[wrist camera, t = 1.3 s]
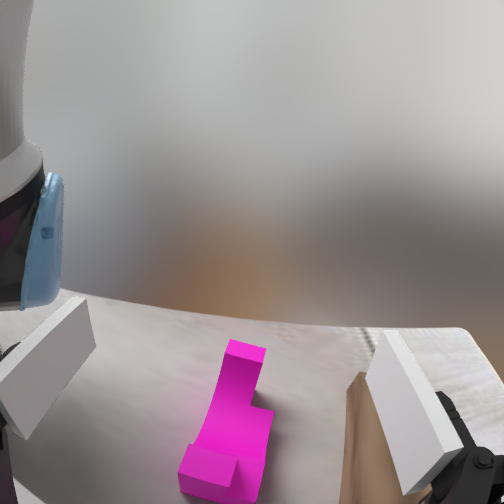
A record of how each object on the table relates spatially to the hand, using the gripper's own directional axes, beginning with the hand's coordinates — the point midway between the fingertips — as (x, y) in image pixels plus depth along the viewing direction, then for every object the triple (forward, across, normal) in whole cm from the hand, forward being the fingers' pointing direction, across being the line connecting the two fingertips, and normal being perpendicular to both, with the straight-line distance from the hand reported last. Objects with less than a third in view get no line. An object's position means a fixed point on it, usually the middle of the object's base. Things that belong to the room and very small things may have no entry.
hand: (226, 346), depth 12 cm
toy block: (+8, 0, -19) cm, 21 cm away
